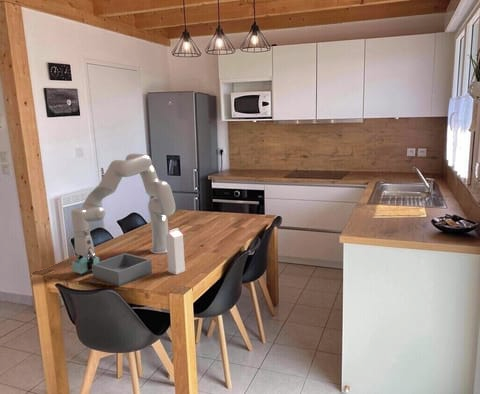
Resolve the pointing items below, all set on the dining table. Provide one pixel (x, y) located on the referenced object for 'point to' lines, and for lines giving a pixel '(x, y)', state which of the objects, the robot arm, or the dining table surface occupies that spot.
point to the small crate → (82, 265)
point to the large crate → (122, 269)
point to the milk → (175, 251)
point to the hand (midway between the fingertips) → (86, 266)
